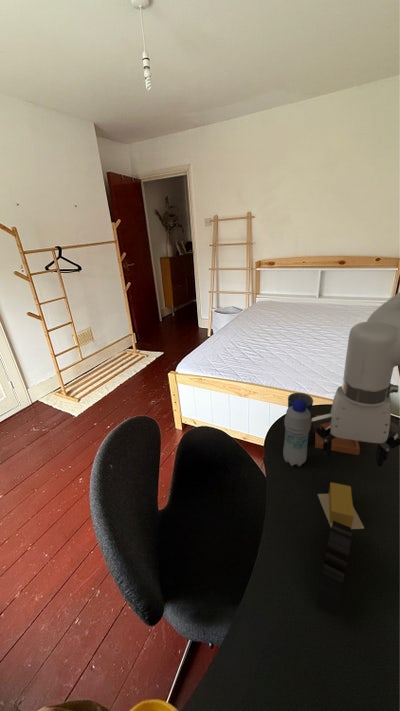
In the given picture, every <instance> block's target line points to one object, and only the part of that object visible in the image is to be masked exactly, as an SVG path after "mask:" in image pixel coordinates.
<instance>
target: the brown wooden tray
mask: <svg viewBox="0 0 400 711" xmlns="http://www.w3.org/2000/svg"><path fill="white" fill-rule="evenodd" d="M322 415H323V414H315V417H318V416H322ZM321 426H322V427H323V428H324V429H326V428H327V427H329V426H330V422H329V423H324V424H321ZM331 441H332V446H331V452H339V453H343V454H344V453H345V454H349V455H355V456H360V452H361V449H360V448H361V447H360V443H359V442H360V441H356V440H349V439H343V438H338V437H336V438H334V439H333V440H331ZM323 442H324V441H323V438H321V437H320V436H319V435H318V434H317V433H316V430H315V429H314V448H316V449H322V450H323Z"/></svg>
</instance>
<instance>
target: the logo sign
mask: <svg viewBox="0 0 400 711" xmlns="http://www.w3.org/2000/svg"><path fill="white" fill-rule="evenodd" d="M352 539H353V533H352V529H351V527H348V526H346V525H343V524H341V523H338V522H336V521H334V520H333V524H332V526H331V527H330V530H329V536H328V541H327V545H326V550H325V555H324V561H323V565H322V566H323V567H322V572H321V576H320V581H319V585H318V590H317V594H316V600H315V605H314V607H315V608H316V609H319V610H321V611H322V612H324V613H326V614H327V615H330V616H331V617H334V618H335V619H338V615H339V609H340V604H341V599H342V593H343V587H344V579H345V574H346V570H347V566H348V560H349V556H350V552H351V545H352V541H353V540H352Z"/></svg>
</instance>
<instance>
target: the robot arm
mask: <svg viewBox="0 0 400 711" xmlns="http://www.w3.org/2000/svg"><path fill="white" fill-rule="evenodd" d="M345 354H346V355H345V361H344V370H343V378H342V385H340V386H339V387H337V389H336V391H335V393H334V396H333V400H332V404H331V409H330V413H326V414H321V415H322V416H318V417H316V416H315V417H314V416H313V417H311V426H312V427H313V429H314V431H315V430H316V433H317V434H318V435H319V436H320V437H321V438H323V441H324V442H323V449H322V451H323V452H325V457H326V458H331V454H332V450H331V446H332V441H331V440H333V439H334V438H336V437H338V438H343V439H349V440H356V441H358V442H364V443H372V444H377V447H376V451H375V460H376V464H377V466H378V467H383V464H384V461H385V462H386V461H387V459H388V454H389V453H390V452H392V450H393V449H394V448H397V447H399V446H400V425H399V424H397V423H395V422H393V421H391V418H392V417H391V416H392V399H391V394H393V393H399V385H398V384H397V385H396V384H393V383H391V382H392V376H393V373H394V372H393V371H394V368H395V367H400V292H398V293H396V294H395V295H393V296H392V297H391V298H389V299H388V300H386V301H385V302H384V303H382V304H381V305H380V306H378V308H377V309H375V310H374V311H373V312H372V313H371V314H370V316H369V317H368V319H367V320H366V321H362V322H358V323H356V324H354V325H353V326H352V327H351V328H350V330H349V334H348V341H347V348H346V353H345ZM329 422H330V426H329V427H327V428H326V429H324V428H323V427H322V426H321V424H324V423H329ZM390 432H392V433H394V435H392V436H390V437H389V435H390Z"/></svg>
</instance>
